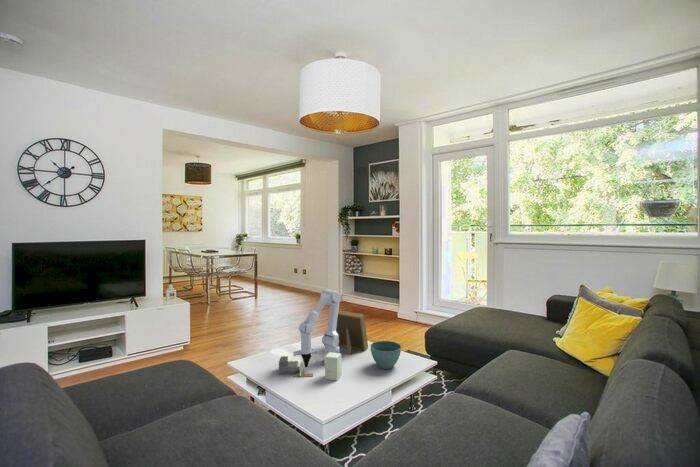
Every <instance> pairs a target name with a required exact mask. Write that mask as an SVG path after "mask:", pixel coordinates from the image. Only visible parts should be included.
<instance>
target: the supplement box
mask: <svg viewBox="0 0 700 467" xmlns="http://www.w3.org/2000/svg"><path fill="white" fill-rule="evenodd" d="M324 358H325V363H324V376H325V377H324V378H325V380H328V381H329V380H330V381H339V379H340V378H341V377H342V374H343V373H342V353H340V352H339V353H333V352H329V353H328V354H327V355H326V356H325V355H324Z"/></svg>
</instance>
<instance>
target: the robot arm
mask: <svg viewBox="0 0 700 467" xmlns="http://www.w3.org/2000/svg"><path fill="white" fill-rule="evenodd" d="M340 296H341V294H340V292H339V291H338V290H332V289H327V288H324V289H323V290H322V292H321V293H320V299H318V302H317V303H316V306H315V307H314V308H313V310H312V311H310V312H309V313H308V315H307V317H306V318H305V319H304V321H303V322H301V323H300V324H299V327H298V331H299V332H300V349H299V350H295V351H293V353H292V354H293V357H296V356H301V358H302V360H303V361H302V362H304V368H308V367H309V363H310V360H311V358H312V355H313V354H319V352H320V351H319V349H318V348H312V332H314V326H315V324H316V322H317V320H318V319H319V316H320V315H319V313H320V312H321V311H322V310H323V309H324V308H325V306H326V304H329V311H328V312H329V313H328V319H327V320H328V321H327V329H326V331H324V332H323V336H322V338H321V343H322V344H323V347H324V358H323V363H324V364H325V356H326V355H327V354H328V353H329V352H333V353H340V345H338V344H339V335H338V333H337V332H336V326H337V318H338V310H339V309H340Z"/></svg>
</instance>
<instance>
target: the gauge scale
mask: <svg viewBox="0 0 700 467" xmlns="http://www.w3.org/2000/svg"><path fill="white" fill-rule="evenodd" d="M313 376H314V373H313V372H312V373H301V376H300V373H296V374H292V378H310V377H311V378H313Z"/></svg>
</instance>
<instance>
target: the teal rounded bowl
mask: <svg viewBox="0 0 700 467" xmlns="http://www.w3.org/2000/svg"><path fill="white" fill-rule="evenodd" d="M369 345H370V352H371V356H372V359H373V361H374V362H375V364H376V365H377V366H378V367H379V368H380V369H384V370H389V369H392V368H394V366H395V365H396V363H397V362H398V361H399V359H400V355H401V352H402V346H401V344H400V343H398V342H395V341H389V340H379V341H375V342H372V343H370V344H369Z"/></svg>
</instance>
